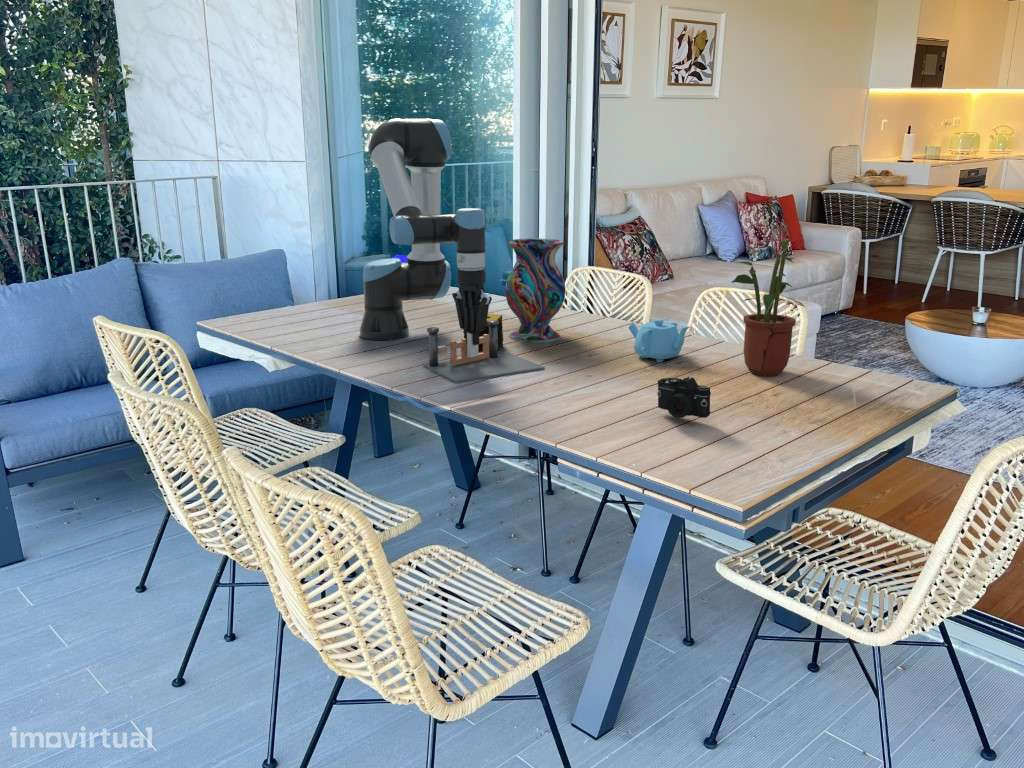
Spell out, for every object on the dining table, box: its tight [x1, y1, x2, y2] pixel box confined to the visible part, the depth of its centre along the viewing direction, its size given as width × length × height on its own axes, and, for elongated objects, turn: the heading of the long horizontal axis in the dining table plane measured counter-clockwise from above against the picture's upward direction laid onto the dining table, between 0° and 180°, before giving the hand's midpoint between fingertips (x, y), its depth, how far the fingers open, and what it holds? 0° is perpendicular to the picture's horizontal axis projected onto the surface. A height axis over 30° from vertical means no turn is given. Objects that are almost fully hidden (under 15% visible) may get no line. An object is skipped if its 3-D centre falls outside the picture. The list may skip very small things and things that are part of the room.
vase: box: [504, 237, 566, 344], centre depth 264 cm, size 18×18×30 cm
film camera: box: [656, 375, 712, 419], centre depth 193 cm, size 13×8×10 cm, turn 54°
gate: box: [449, 334, 489, 366], centre depth 236 cm, size 13×2×6 cm, turn 134°
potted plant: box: [730, 240, 797, 377], centre depth 224 cm, size 17×16×35 cm
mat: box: [422, 352, 546, 384], centre depth 234 cm, size 19×27×1 cm
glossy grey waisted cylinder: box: [487, 320, 499, 358], centre depth 242 cm, size 3×3×11 cm
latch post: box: [426, 326, 448, 367], centre depth 234 cm, size 5×6×11 cm
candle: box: [462, 313, 504, 353], centre depth 253 cm, size 10×10×10 cm
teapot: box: [627, 318, 691, 363], centre depth 243 cm, size 15×14×11 cm
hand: (472, 355), depth 234 cm, fingers closed
